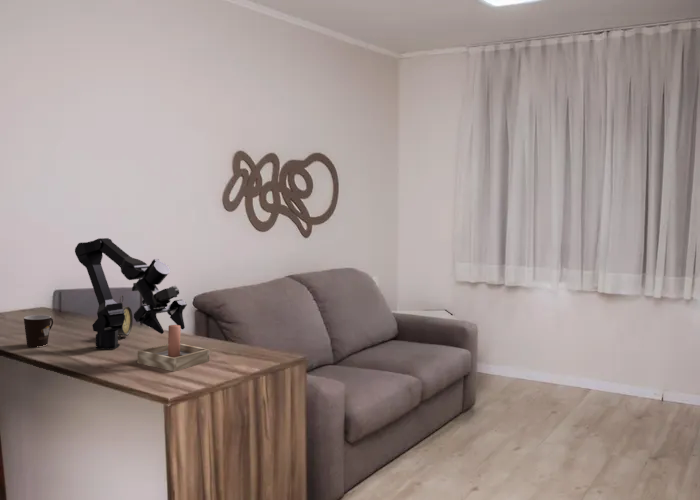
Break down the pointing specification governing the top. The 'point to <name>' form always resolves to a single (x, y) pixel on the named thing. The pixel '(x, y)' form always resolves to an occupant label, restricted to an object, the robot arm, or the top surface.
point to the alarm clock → (126, 321)
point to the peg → (174, 340)
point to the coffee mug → (37, 329)
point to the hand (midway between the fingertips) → (173, 330)
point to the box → (162, 360)
